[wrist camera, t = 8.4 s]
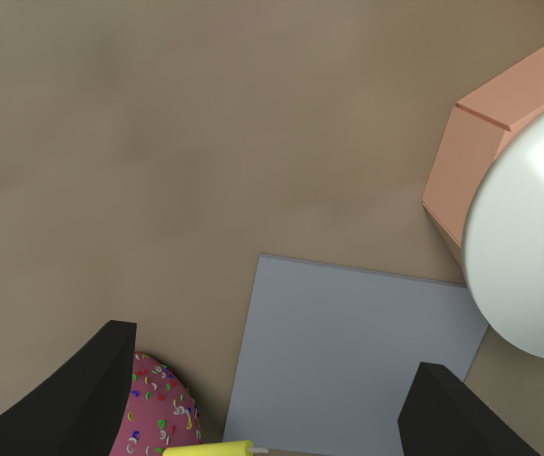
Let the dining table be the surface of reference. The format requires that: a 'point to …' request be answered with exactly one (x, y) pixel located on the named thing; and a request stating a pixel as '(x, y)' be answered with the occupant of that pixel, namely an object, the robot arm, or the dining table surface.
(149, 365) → the cupcake
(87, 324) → the dining table surface
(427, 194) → the bowl
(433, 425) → the robot arm
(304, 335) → the mat
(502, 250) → the lid
